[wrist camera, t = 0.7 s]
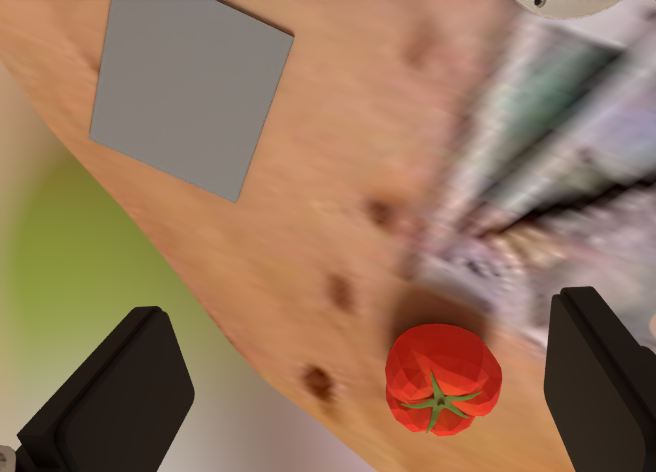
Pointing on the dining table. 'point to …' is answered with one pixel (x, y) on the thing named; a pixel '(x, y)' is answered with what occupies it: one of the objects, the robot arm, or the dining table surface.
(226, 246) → the dining table surface
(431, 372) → the tomato
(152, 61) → the mat
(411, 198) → the dining table surface
